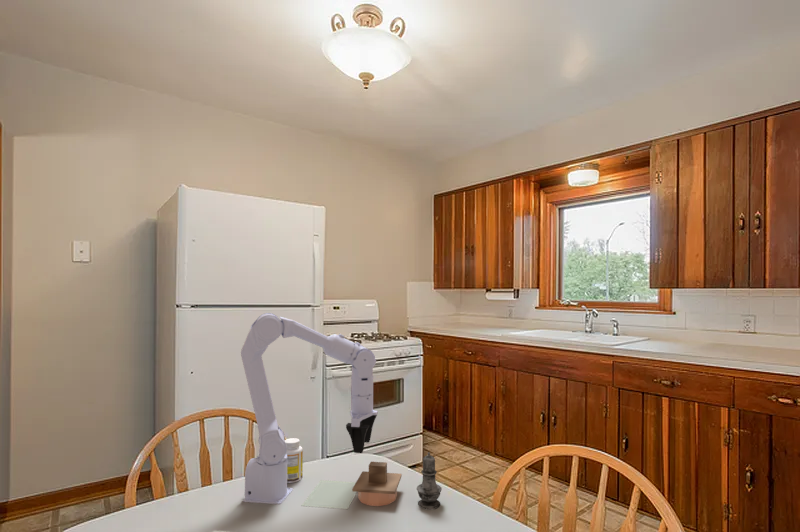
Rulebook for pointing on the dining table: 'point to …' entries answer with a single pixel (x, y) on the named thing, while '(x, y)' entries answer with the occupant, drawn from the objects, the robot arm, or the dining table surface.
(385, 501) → the terracotta bowl
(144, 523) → the dining table surface
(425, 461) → the salt shaker
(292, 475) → the supplement bottle
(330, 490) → the sage rubber mat
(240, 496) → the dining table surface
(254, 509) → the dining table surface
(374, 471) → the walnut lid
